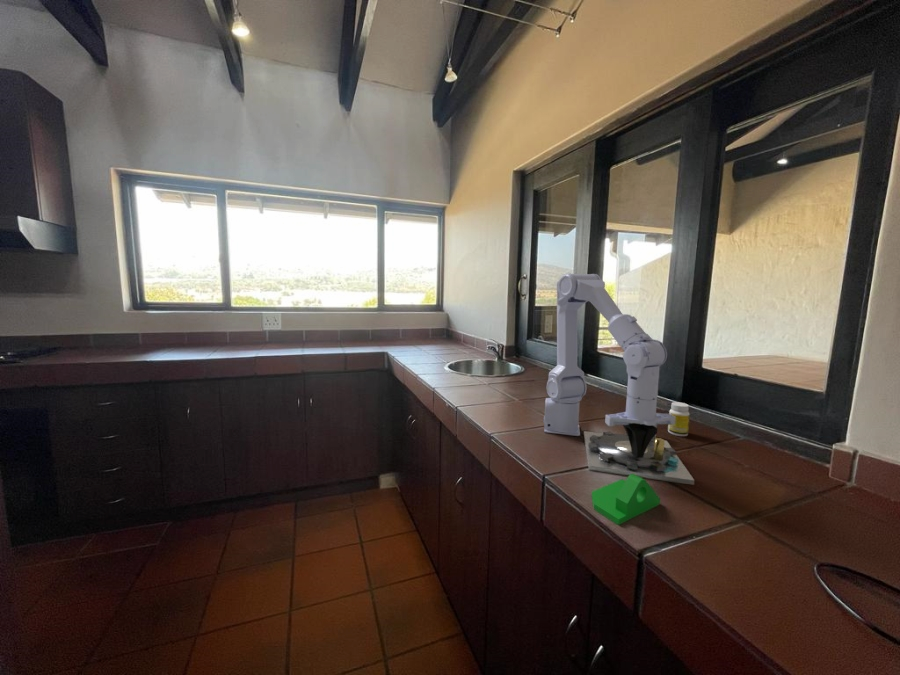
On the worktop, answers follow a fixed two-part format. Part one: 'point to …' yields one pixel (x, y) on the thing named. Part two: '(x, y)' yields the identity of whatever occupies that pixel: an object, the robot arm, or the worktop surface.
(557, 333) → the robot arm
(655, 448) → the sprocket
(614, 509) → the bracket
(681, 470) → the base plate
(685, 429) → the supplement bottle
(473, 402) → the worktop surface
